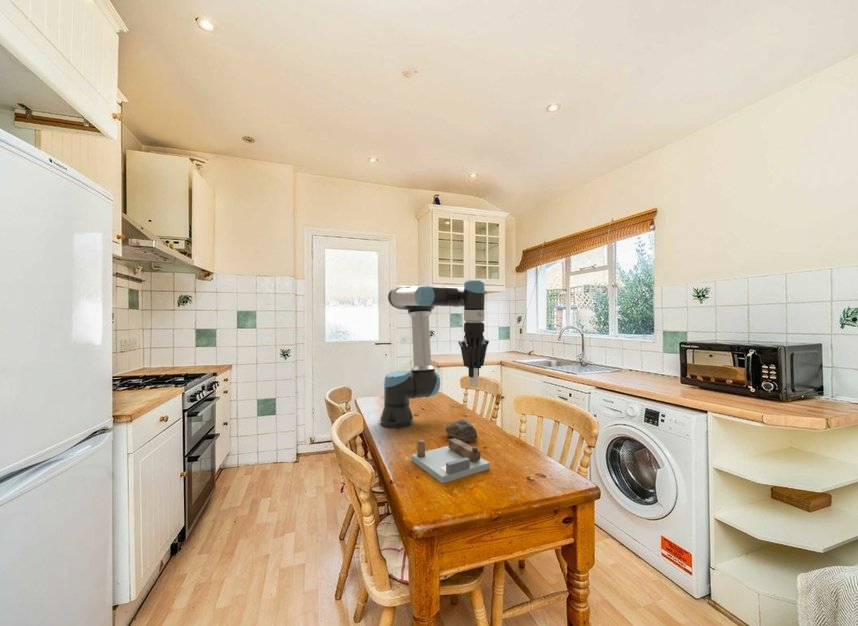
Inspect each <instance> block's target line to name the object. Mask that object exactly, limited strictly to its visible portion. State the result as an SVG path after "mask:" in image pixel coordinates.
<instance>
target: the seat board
mask: <svg viewBox="0 0 858 626" xmlns="http://www.w3.org/2000/svg"><path fill="white" fill-rule="evenodd" d="M416 442H417V443H416V444H417V445H416V446H417V447H416V448H417V449H416V453H414V454H411V455H410V457H411V460H410V461H411V462H413V463H414V464H415V465H417V466H418V467H419V468H421V469H422V470H423V471H425V472H426V473H427V474H429V475H430V476H432V477H433V478H434V479H436V480H437V481H438V482H439V483H441V484H446V483H448V482H451V481H455V480H458V479H461V478H465V477H468V476H471V475H474V474H478V473H481V472H483V471H487V470H490V469H491V462H490V461H488V460H486V459H484V458H482V457H480V460H479V461H475V462H472V461H471V460H470V459H469V458H467V457H466V458H465V457H464V456H462V455H460V454H458V453H457V452H455V451H453V450H451V449H450V448H448V446H449V445H446V446H442V447H439V448H434V449H430V450H426V440H424V439H418V440H417V441H416Z"/></svg>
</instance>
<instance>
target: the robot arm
mask: <svg viewBox="0 0 858 626" xmlns="http://www.w3.org/2000/svg"><path fill="white" fill-rule="evenodd" d="M485 295H486V291H485V282H484V281H483V280H481V279H480V280H479V279H469V280H467V279H466V280H465V281H464V284H463V286H460V287H459V286H458V287H456V286H455V287H454V286H435V285H434V286H433V285H419V286H417V285H412V286H411V285H398V286H394V287H393V288H391V289H390V290H389V292H388V294H387V300H388V303H389V305H390V306H392V307H393V308H395V309H397V310H405V311H407V314H408V316H410V318H411V335H412V337H411V339H412V353H413V354H412V355H413V366H412V368H411V369H410V371H407V370H395V371H392V372H389V373H388V374H387V373H386V375H385V377H384V383H383V388H384V389H383V391H384V393H383V394H384V395H383V396H384V397H383V401H384V402H383V403H384V404H383V405H384V406H383V409H382V411H381V414H380V418H379V419H380V421H379V423H380V425H381V426H383V427H385V428H386V427H387V428H392V429H395V428H396V429H397V428H406V427H409V426H411V425H413V423H414V416H413V414H412V411H411V410H412V409H411V407H410V400H412V399H414V400H415V399H421V398H422V399H423V398H429V397H434V396H436V395H437V394H438V392H439V391H440V387H441V377H440V375H439V373H438V372H436V369H435V367H434V366H433V365H432V354H431V335H430V334H431V333H430V319H429V318H430V315H431V314H432V312H433V310H435V307H454V308H460V307H463V321H464V323H463V332H464V336H463V339H462V340H459V341H458V345H459V347H460V352H461V357H462V362H463V367H465V368H467V369H468V378H469V386H471V387H475V388H476V387H479V377H480V369H481V368H482V367H484V364H485V358H486V355H487V349H488V345H489V343H490V340H489V339H486V338H485V336H484V333H485V323H484V321H485V301H486V300H485V298H486V296H485Z"/></svg>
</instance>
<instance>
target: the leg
mask: <svg viewBox="0 0 858 626" xmlns="http://www.w3.org/2000/svg"><path fill="white" fill-rule="evenodd" d="M447 446H448V448H450V449H451V450H453V451H455V452H457V453H458V454H460V455H462V456H464V457H465V458H466V457H467V458H469V459H470V460H471V461H472V462H475V461H479V460H480V458H481V450H479V449H478V447H477V446H472V445H469V444H468V443H467V442H465V441H462V440H458V439H456V438H453V437H452V438H449V439H448V445H447Z"/></svg>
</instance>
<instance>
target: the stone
mask: <svg viewBox="0 0 858 626" xmlns="http://www.w3.org/2000/svg"><path fill="white" fill-rule="evenodd" d="M445 431H446V435H448V437H451V438H452V439H453V438H456V439H458V440H460V441H462V442H464V443H470V442H473V441H475V440H477V439H478V433H477V430H476V428H475V427H474V425H473V424H472V422H471V421H469V420H468V419H467V418H466V419H465V418H463V419H461V418H460V419H457V420H455V421H453V422H451V423H449V424H447V425H446V426H445Z"/></svg>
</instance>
